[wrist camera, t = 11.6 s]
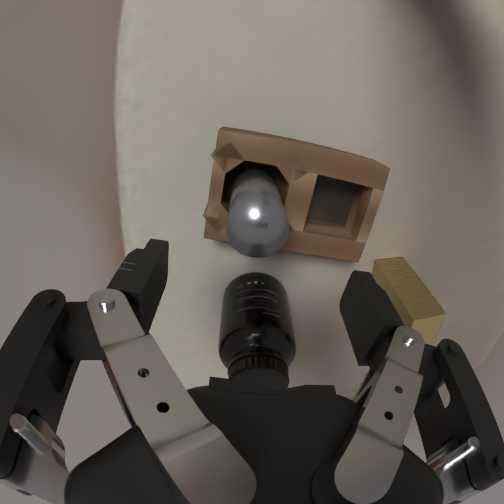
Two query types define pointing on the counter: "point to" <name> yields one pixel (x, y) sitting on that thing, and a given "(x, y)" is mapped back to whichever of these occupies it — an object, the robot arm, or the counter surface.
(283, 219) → the cylinder
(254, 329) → the supplement bottle
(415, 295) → the square bit
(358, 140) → the counter surface
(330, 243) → the bore block
